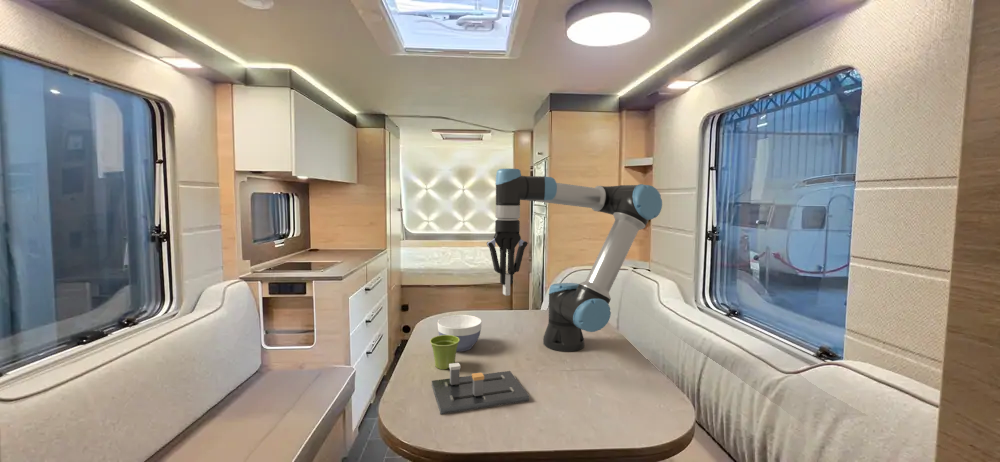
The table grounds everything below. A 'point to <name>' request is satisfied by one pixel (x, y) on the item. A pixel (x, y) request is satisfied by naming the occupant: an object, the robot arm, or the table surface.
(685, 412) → the table surface
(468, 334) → the bowl
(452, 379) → the fader white
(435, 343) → the plant pot
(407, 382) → the table surface
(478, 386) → the fader orange
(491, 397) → the console
